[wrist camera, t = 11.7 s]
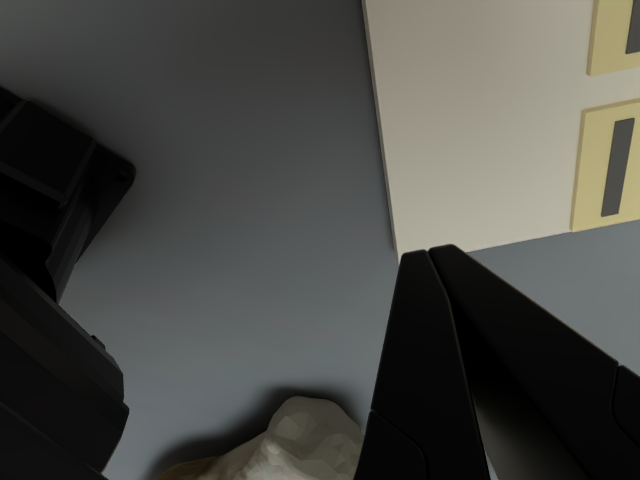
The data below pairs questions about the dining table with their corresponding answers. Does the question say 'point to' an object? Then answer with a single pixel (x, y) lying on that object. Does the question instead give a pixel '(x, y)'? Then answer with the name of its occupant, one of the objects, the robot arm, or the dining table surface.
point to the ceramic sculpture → (287, 448)
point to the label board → (505, 117)
